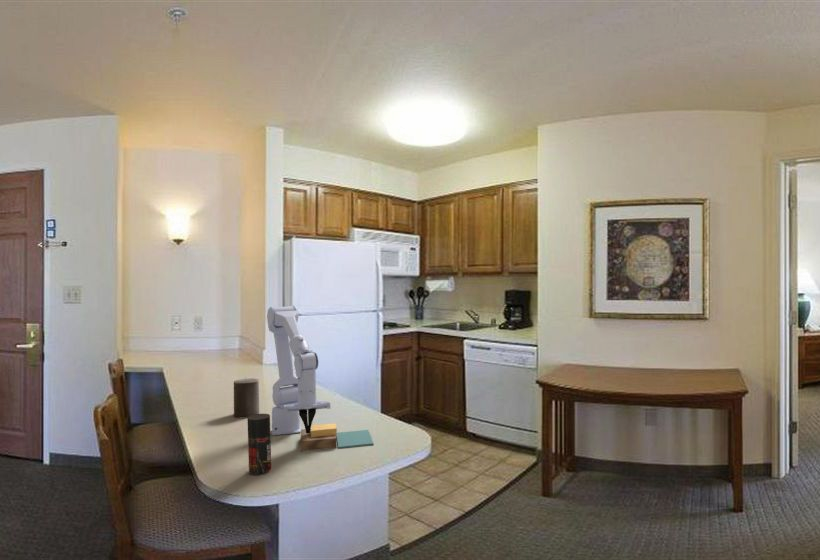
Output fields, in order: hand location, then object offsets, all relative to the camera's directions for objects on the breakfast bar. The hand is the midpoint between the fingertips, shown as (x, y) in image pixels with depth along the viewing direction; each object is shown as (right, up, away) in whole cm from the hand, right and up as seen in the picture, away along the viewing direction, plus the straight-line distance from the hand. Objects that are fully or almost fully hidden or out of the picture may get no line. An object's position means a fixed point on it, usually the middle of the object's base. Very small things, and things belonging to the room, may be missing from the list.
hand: (308, 432), depth 147 cm
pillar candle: (-33, -5, +37) cm, 50 cm away
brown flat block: (+3, -4, +1) cm, 5 cm away
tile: (+5, -1, +1) cm, 5 cm away
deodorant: (-9, -4, -20) cm, 22 cm away
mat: (+14, -3, +3) cm, 15 cm away
